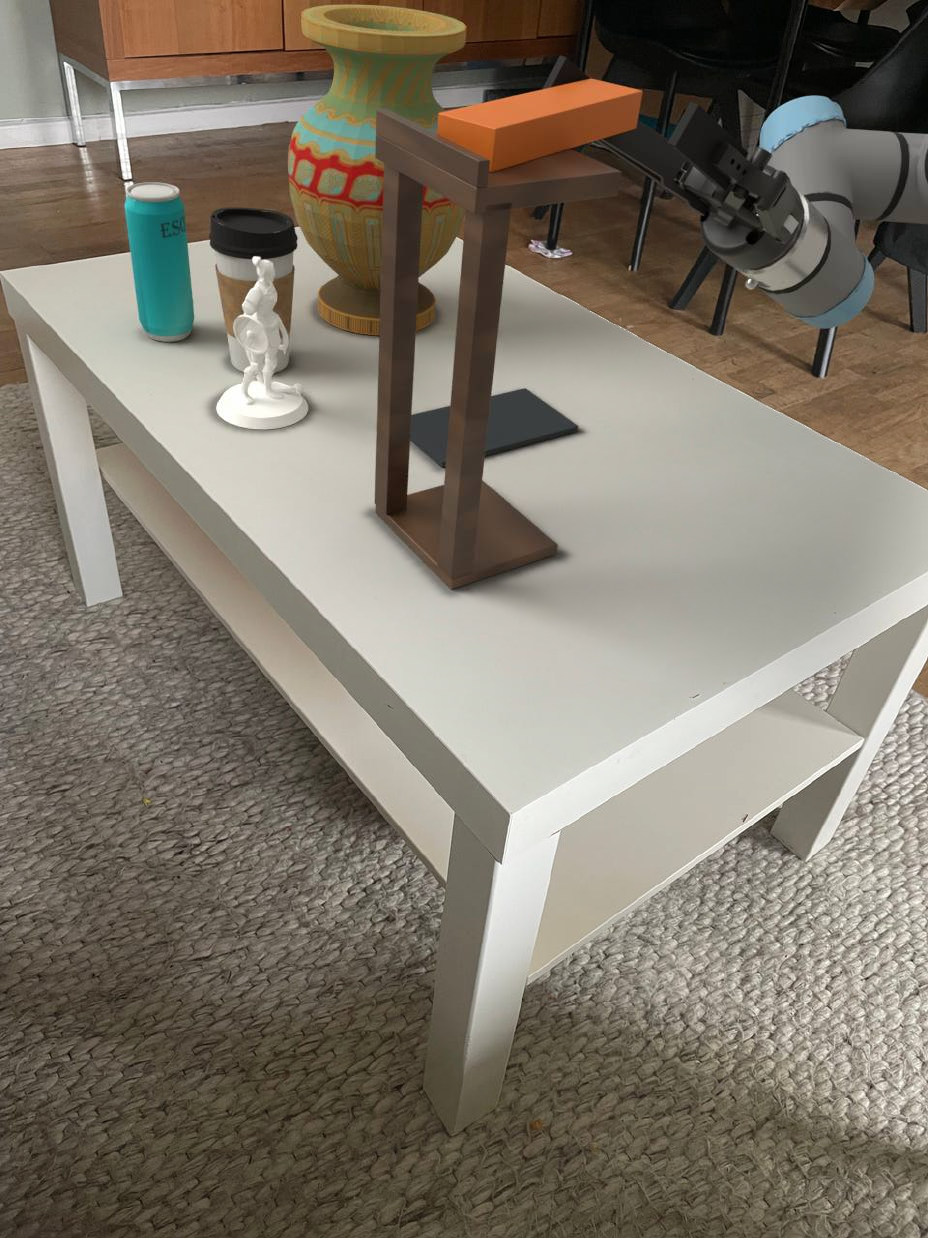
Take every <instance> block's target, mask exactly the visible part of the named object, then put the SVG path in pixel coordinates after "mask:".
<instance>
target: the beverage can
mask: <svg viewBox="0 0 928 1238" xmlns="http://www.w3.org/2000/svg"><path fill="white" fill-rule="evenodd" d="M180 193H181V192H180V189H179V188H178V187H177V186H175V185H173V184H170V183H165V182H157V181H146V182H138V183H134V184H130V185H128V186H127V187H126V188H125V194H126V199H125V202H124V213H125V220H126V229H127V236H128V243H129V251H130V259H131V267H132V275H133V281H134V290H135V298H136V305H137V306H136V307H137V313H138V319H139V322H140V324H141V326H142V328H143V330H144V332H145V333H146V335H147V336H148V337H149V338H150V339H152V340H154V341H157V342H163V343H170V342H171V343H173V342H179V341H182V340H184V339H186V338H188V337H189V335H190V334H191V331H192V329H193V325H194V322H195V309H194V298H193V287H192V277H191V265H190V256H189V255H190V254H189V244H188V234H187V224H186V223H187V222H186V213H185V204H184V203H183V200H182V199H181V196H180Z"/></svg>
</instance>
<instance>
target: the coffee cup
mask: <svg viewBox="0 0 928 1238" xmlns="http://www.w3.org/2000/svg"><path fill="white" fill-rule="evenodd" d="M209 218H210V229H209V232H210V233H209V234H208V239H209V246H210V247H211V249H212V250H214V254H215V255H214V256H215V261H216V263H215V265H214V267H215V269H214V270H215V273H216V280H217V286H218V291H219V292H218V293H219V296H220V297H219V298H220V302H221V309H222V315H223V321H224V326H225V331H226V335H227V341H228V349H229V355H230V362H231V364H232V366H233V367H234V369H236V370H237V371H240V372H243V373H244V370H245V369H246V368H247V367H249V366H251V364H250V362H249V359H248V356H247V353H246V350H245V348H244V347H243V346H242V345H241V344H240V343H239V342H238V340H237V339H236V337H235V334H234V331H233V323H234V321H235V319H236V318H237V317H238V316H240V315H244V311H243V309H242V307H243V306H242V304H243V303H244V301H245V298H246V296H247V294H248V293H249V291H250V290H251V289H252V288H254V286H255V284H256V283H257V281H258V278H259V276H258V274H257V267H256V266H255V265H254V264H253V260H252V259H253V257H254V256H255V257H260V258H261V261H262V260H268V261H270V262H272V263H273V266H274V269H275V276H274V278H273V279H274V281H273V285H274V287H275V289H276V292H277V301H276V304H275V306H274V308H273V312H275V313H276V314H278V315H279V317H280V319H281V321H282V323H283V325H284V327H285V329H286V331H287V334H288V339H289V344H288V347H287V349H286V353H285V354H284V350H280V349H278V351H277V354H276V357H277V366H276V367H275V372H274V373H273V374H276V373H278V372H280V371H283V370H285V369H286V368H287V367H288V365H289V361H290V342H291V340H290V339H291V327H292V311H293V299H294V284H295V269H296V267H295V265H294V252H295V251H296V250H297V248H298V242H297V241H298V234H297V233H296V226H295V222H294V220H293V218H292V217H291V216H289V215H287V214H285V213H283V212H279V211H276V210H275V211H274V210H270V209H263V208H257V207H256V208H255V207H240V206H239V207H232V206H231V207H220V208H217V209H215V210H214V211H213V212H211V214H210V217H209ZM278 328H279V327H278ZM279 335H280V338H281V343H280V345H283V336H282V332H281V330H280V328H279ZM263 362H264V363H265V357H264V360H263ZM264 365H265V364H264ZM261 373H262V375H263V372H261Z"/></svg>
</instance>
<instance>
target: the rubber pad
mask: <svg viewBox="0 0 928 1238" xmlns="http://www.w3.org/2000/svg"><path fill="white" fill-rule="evenodd" d="M449 417H450V405H447V406H443V407H439V408H435V409H431V410H430V409H429V410H425V411H422V412H417V413H413V414H411V433H410V442H412V443H413V444H414V445H415V446H417V447H418V448H419V449H420V450H421V451H422V452H424V453H425V454H426V455H427V456H428V457H429V458H430V459H432V461H434V462H435V463H436V464H437V465H438V466H440V468H445V467H446V455H447V442H448V429H449ZM576 432H579V425H578V424H576V423H575V422H573V421H572V420H571V419H569V418H568V417H567V416H565V415H563V414H562V413H561V412H559V410H557V409H555V408H554V407H552V406H551V405H550V404H548V403H547V402H545V401H544V400H543V399H541V398H540V397H538V396H537V395H536V394H535V393H533V392H532V391H530V390H529V389H527V388H525V387H524V388H520V389H516V390H512V391H506V392H503V393H498V394H493V395H491V402H490V412H489V421H488V431H487V440H486V449H485V457H487V456H490V455H494V454H495V455H496V454H497V453H501V452H505V451H509V450H513V449H516V448H521V447H524V446H527V445H531V444H532V445H533V444H535V443H540V442H542V441H546V440H550V439H555V438H558V437H561V436H565V435H570V434H573V433H576Z"/></svg>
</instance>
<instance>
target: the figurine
mask: <svg viewBox="0 0 928 1238" xmlns="http://www.w3.org/2000/svg"><path fill="white" fill-rule="evenodd" d="M252 260H253V264H254V265H255V266H256V267H257V274H258V276H259V278H258V281H257V283H256V284H255V286H254V288H252V289H251V290H250V291H249V293H248V294H247V296H246V298H245V301H244V303H243V304H242V306H243V307H242V309H243V311H244V315H240V316H238V317H237V318H236V319H235V321H234V323H233V331H234V334H235V337H236V339H237V340H238V342H239V343H240V344H241V345H242V346H243V347H244V348H245V350H246V353H247V356H248V359H249V362H250V364H251V366H249V367H247V368H246V369H245V370H244V372H243V373H244V374H243V379H242V382H241V383H238V384H236V385H232V386H231V387H229V388H227V389H226V391H225V392H223V394H222V396H221V397H220V399H219V400H218V401H217V403H216V412H217V414H218V416H219V417H220V418H221V419H222V420H224V421H225V422H227V423H228V424H230V425H233V426H236V427H238V428H239V427H240V428H243V429H250V430H275V429H280V428H286V427H289V426H292V425H295V424H296V423H298V422H300V421H301V420H303V419H304V418H305V416H307V414H308V412H309V405H308V402H307V401H306V399H305V398H304V396H303V395H302V394H301V393H303V391H304V386H303V385H302V384H300V383H294V384H293V385H289V384H285V383H282V382H279V381H273V375H274V374H275V373H276V372H275V367H276V366H277V357H276V354H277V351H278V349H280V350H284V354H285V353H286V349H287V347H288V344H289V345H290V343H289V339H288V334H287V331H286V329H285V327H284V325H283V323H282V321H281V319H280V317H279V315H278V314H276V313H275V312H273V308H274V306H275V304H276V301H277V292H276V289H275V287H274V285H273V281H274V279H273V278H274V276H275V269H274V266H273V263H272V262H270V261H268V260H262V261H261V258H260V257H255V256H254V257H253V259H252ZM278 327H279V328H280V330H281V332H282V336H283V345H280V343H281V338H280V335H279V328H278ZM264 357H265V363H264V362H263V360H264ZM264 364H265V365H264ZM261 372H263V374H262V373H261ZM274 372H275V373H274ZM255 378H256V379H257V380H255Z"/></svg>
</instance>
